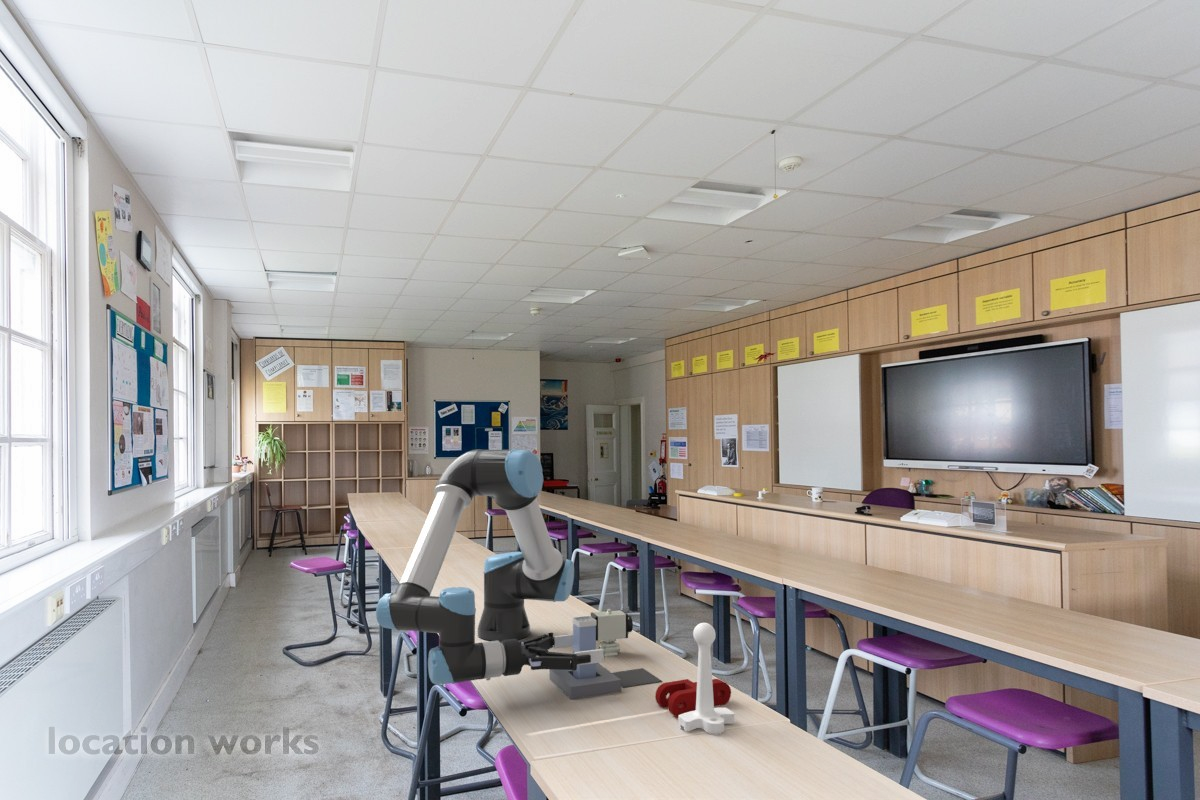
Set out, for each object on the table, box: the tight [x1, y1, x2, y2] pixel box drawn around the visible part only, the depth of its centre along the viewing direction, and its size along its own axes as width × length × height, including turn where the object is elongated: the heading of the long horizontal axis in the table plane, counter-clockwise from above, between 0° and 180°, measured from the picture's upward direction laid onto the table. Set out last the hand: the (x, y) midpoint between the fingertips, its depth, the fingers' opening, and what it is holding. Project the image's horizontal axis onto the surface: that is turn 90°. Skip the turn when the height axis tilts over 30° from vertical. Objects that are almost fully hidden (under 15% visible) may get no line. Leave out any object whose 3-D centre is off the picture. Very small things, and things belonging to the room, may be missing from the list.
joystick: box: [677, 622, 735, 735], centre depth 141 cm, size 11×8×20 cm
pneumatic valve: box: [589, 608, 634, 657], centre depth 188 cm, size 6×12×12 cm, turn 107°
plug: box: [572, 615, 597, 679], centre depth 164 cm, size 4×4×15 cm
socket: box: [549, 663, 622, 700], centre depth 164 cm, size 14×12×3 cm
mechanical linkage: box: [654, 678, 732, 719], centre depth 152 cm, size 16×7×5 cm, turn 114°
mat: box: [612, 667, 663, 689], centre depth 169 cm, size 10×10×1 cm
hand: (591, 647), depth 165 cm, fingers open, 13 cm apart
